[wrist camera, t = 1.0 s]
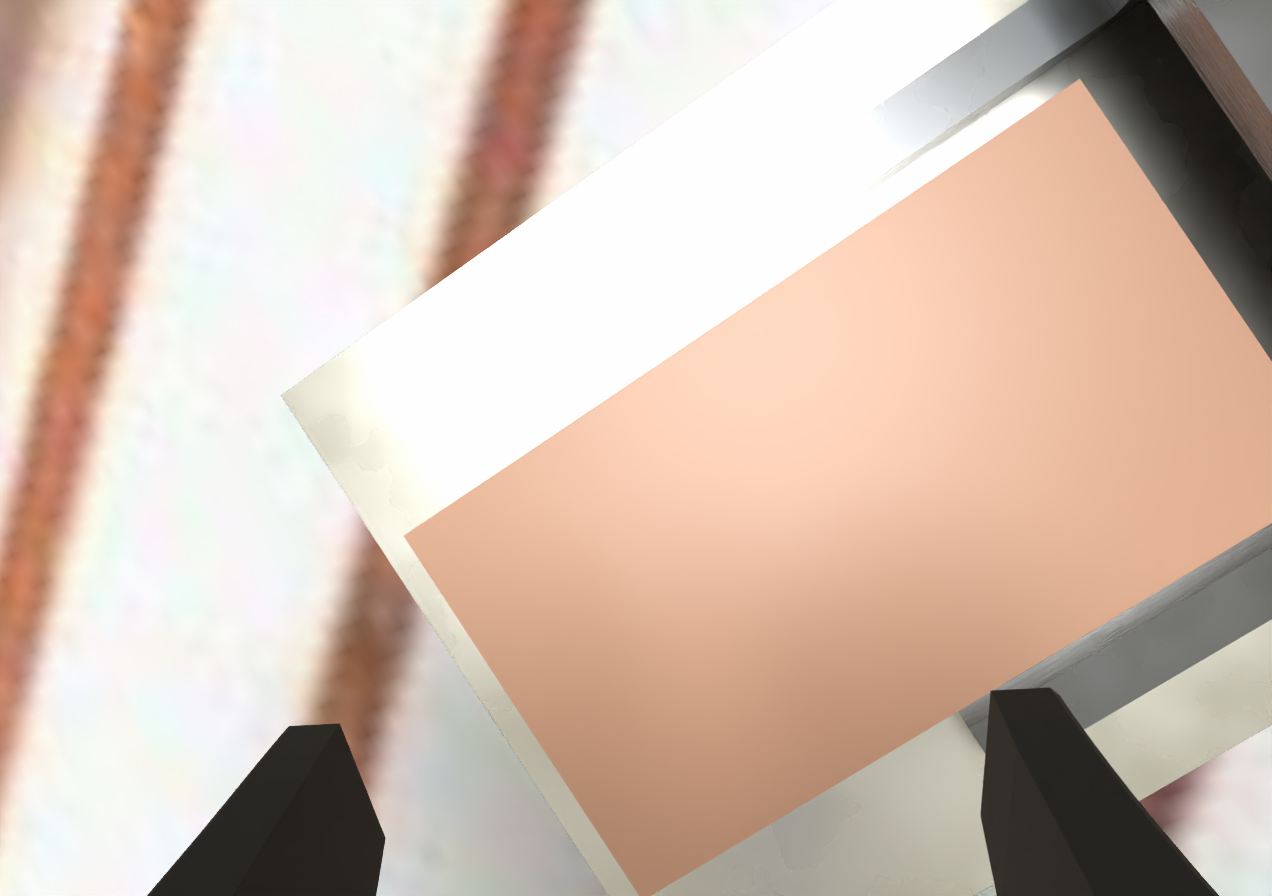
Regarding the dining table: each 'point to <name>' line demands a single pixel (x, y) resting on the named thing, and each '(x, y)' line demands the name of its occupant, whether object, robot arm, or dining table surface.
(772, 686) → the peach rectangular panel
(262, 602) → the dining table surface
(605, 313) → the dock
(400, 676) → the dining table surface
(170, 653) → the dining table surface
